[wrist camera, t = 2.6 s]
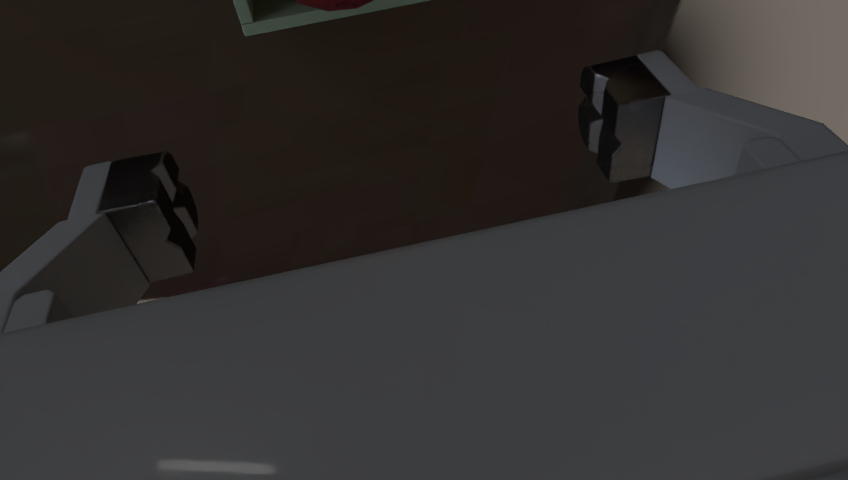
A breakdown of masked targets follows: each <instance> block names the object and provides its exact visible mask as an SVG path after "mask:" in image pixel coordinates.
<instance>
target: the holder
mask: <svg viewBox="0 0 848 480" xmlns="http://www.w3.org/2000/svg"><path fill="white" fill-rule="evenodd" d="M425 1H430V0H374V1H372V2H369V3H367V4H365V5H363V6H361V7H359V8H357V9H348V10H338V11H325V10H321V9H317V8H313V7H309V6H305V5H301V4H299V3H297V2H296V1H294V0H233V2H234V5H235V8H236V11H237V14H238V17H239V20H240V23H241V24H242V25H241V26H242V29H243V32H244V35H245V36H250V35H256V34H261V33H266V32H271V31H276V30H281V29H286V28H291V27H297V26H302V25H307V24H312V23H317V22H322V21H327V20H332V19H337V18H343V17H348V16H353V15H358V14H363V13H368V12H373V11H378V10H384V9H389V8H394V7H399V6H404V5H409V4H414V3H419V2H425Z"/></svg>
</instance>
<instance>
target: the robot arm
mask: <svg viewBox="0 0 848 480" xmlns="http://www.w3.org/2000/svg"><path fill="white" fill-rule="evenodd" d="M580 87H581V88H582V90H583V91H584V93H585V94H586V97H585V98H584V100H583V101H582V102H581V104H580V105H579V115H578V121H579V128H580V134H581V136H582V139H583V142H584V144H585V145H586V147H587V148H588V150H590V151H592V152H594V153H597V154H598V156H597V164H598V166H599V167H600V169H601V170H602V172H603V174H604V175H605V177H606V178H607V180H608V181H609V183H614V182H619V181H625V180H630V179H635V178H641V177H646V176H651V178H653V179H655V180H657V181H658V182H660V183H662V184H664V185H665V186H667V187H669V188H671V189H669V190H664V191H659V192H655V193H650V194H645V195H641V196H636V197H632V198H627V199H623V200H618V201H613V202H608V203H603V204H599V205H594V206H589V207H585V208H580V209H576V210H571V211H566V212H562V213H557V214H552V215H548V216H543V217H538V218H534V219H529V220H525V221H520V222H515V223H511V224H506V225H501V226H497V227H492V228H488V229H483V230H478V231H474V232H469V233H464V234H460V235H455V236H450V237H446V238H441V239H437V240H432V241H427V242H423V243H418V244H413V245H409V246H404V247H399V248H395V249H390V250H385V251H381V252H376V253H372V254H367V255H362V256H358V257H353V258H348V259H344V260H339V261H334V262H330V263H325V264H321V265H316V266H311V267H307V268H302V269H297V270H293V271H288V272H283V273H279V274H274V275H270V276H265V277H260V278H256V279H251V280H246V281H242V282H237V283H232V284H228V285H223V286H218V287H214V288H209V289H205V290H200V291H195V292H191V293H186V294H181V295H177V296H172V297H167V298H163V299H158V300H154V301H149V302H144V303H140V304H137V302H138V301H139V300H140V298H141V297H142V296H143V294H144V293H145V291H146V290H147V289H148V287H149V286H150V284H149V283H151V282H155V281H159V280H164V279H168V278H172V277H176V276H180V275H184V274H188V273H193V272H194V263H195V253H196V247H195V245H194V243H193V241H192V238H193V237H194V236H195V234H196V233H197V232H198V217H197V210H196V206H195V203H194V200H193V197H192V194H191V192H190V190H189V188H188V186H186V185H184V184H183V183H181V182H179V181H178V173H179V168H178V166H177V164H176V162H175V160H174V158H173V156H172V155H171V154H170V153H169V152H167V151H164V152H158V153H153V154H147V155H142V156H136V157H131V158H126V159H120V160H115V161H108V162H104V163H99V164H94V165H90V166H88V167H86V168H84V170H83V173H82V176H81V179H80V182H79V185H78V188H77V191H76V194H75V197H74V201H73V204H72V207H71V210H70V213H69V216H68V219H67V220H66V221H62V222H59V223H57V224H56V225H55V226H54V227H53V228H52V229H50V230H49V231H48V232H47V233H46V234H44V235H43V236H42V237H41V238H40V239H39V240H37V241H36V242H35V243H34V244H33V245H32V246H30V247H29V248H28V249H27V250H26V251H25V252H23V253H22V254H21V255H20V256H19V257H17V258H16V259H15V260H14V261H13V262H12V263H10V264H9V265H8V266H7V267H6V268H5V269H3V270H2V271H1V272H0V480H848V145H847V144H846V143H845V142H844V141H842V140H841V139H840V138H839V137H838V136H837V135H836V134H834V133H833V132H832V131H831V130H830V129H829V128H827V127H826V126H825V125H824V124H823V123H819V122H816V121H813V120H810V119H807V118H803V117H800V116H797V115H793V114H790V113H787V112H784V111H780V110H777V109H774V108H770V107H767V106H764V105H761V104H757V103H754V102H751V101H747V100H744V99H741V98H738V97H734V96H731V95H728V94H724V93H721V92H718V91H714V90H711V89H708V88H705V89H698V88H697V87H696V86H695V85H694V84H693V83H692V82H691V81H690V80H689V79H688V78H687V76H686V75H684V73H683V72H682V71H681V70H680V69H679V68H678V67H677V66H676V65H675V64H674V63H673V62H672V61H671V60H670V59H669V58H668V57H667V56H666V55H665V54H664V53H663V52H662V51H658V50H655V51H651V52H647V53H643V54H639V55H635V56H631V57H627V58H622V59H618V60H614V61H609V62H605V63H601V64H596V65H592V66H588V67H584V68H583V71H582V74H581V83H580Z"/></svg>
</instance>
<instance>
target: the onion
mask: <svg viewBox="0 0 848 480" xmlns="http://www.w3.org/2000/svg"><path fill="white" fill-rule="evenodd" d="M294 1H296V2H297V3H299V4H301V5H305V6H309V7H313V8H317V9H321V10H325V11H338V10H348V9H357V8H359V7H361V6H363V5H365V4H367V3H369V2H372V1H374V0H294Z"/></svg>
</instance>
